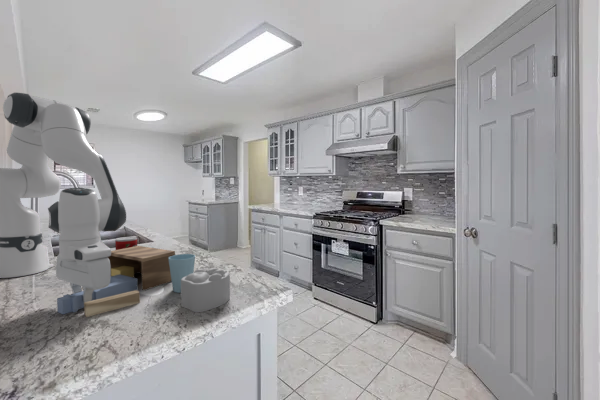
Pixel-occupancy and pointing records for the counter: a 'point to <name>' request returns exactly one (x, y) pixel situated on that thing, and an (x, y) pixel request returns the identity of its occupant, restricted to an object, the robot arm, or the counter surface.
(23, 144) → the robot arm
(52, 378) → the counter surface
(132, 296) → the beech stick
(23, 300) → the counter surface
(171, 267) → the cup
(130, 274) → the ochre block
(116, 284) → the crook
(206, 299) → the lumpy-topped squat cylinder
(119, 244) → the canned food
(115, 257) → the box
